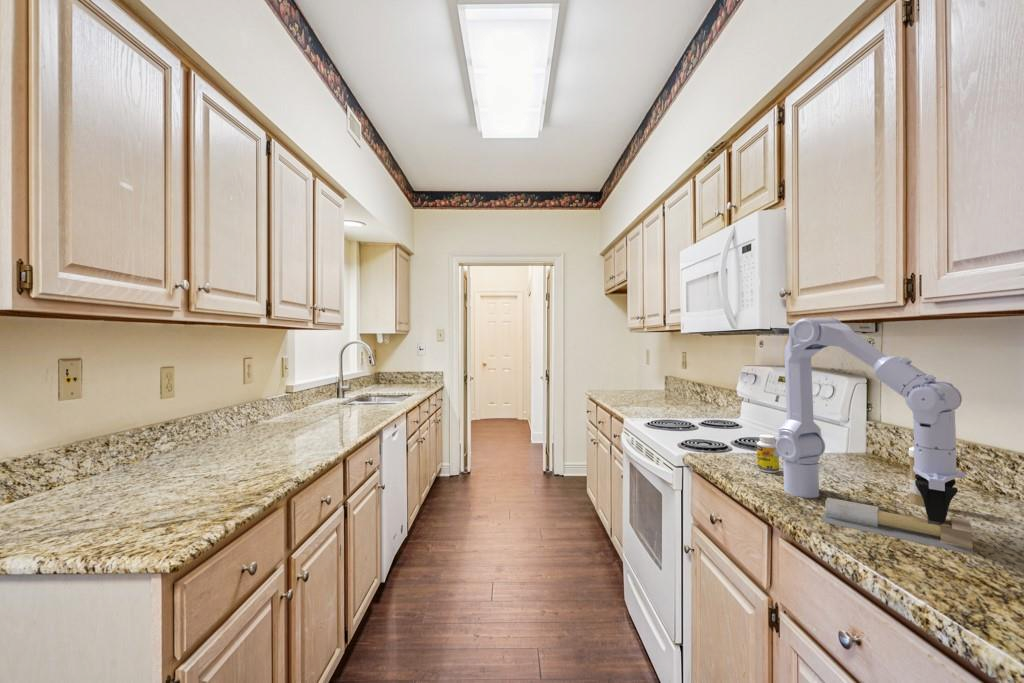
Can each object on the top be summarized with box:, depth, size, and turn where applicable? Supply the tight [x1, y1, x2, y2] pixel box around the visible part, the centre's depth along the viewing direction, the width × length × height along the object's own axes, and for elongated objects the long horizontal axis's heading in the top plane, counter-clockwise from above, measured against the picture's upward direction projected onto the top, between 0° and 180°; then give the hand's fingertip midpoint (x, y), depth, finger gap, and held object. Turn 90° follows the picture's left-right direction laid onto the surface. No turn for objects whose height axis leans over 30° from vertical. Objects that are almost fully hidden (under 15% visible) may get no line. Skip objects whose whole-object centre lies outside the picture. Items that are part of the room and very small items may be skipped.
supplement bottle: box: [756, 434, 780, 474], centre depth 128 cm, size 6×6×10 cm
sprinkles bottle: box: [908, 446, 925, 508], centre depth 98 cm, size 5×5×14 cm
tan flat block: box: [877, 510, 952, 536], centre depth 85 cm, size 2×12×7 cm, turn 47°
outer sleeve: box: [824, 497, 879, 528], centre depth 91 cm, size 3×8×3 cm, turn 48°
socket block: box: [940, 516, 974, 549], centre depth 81 cm, size 5×4×4 cm
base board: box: [820, 509, 975, 555], centre depth 87 cm, size 10×22×1 cm, turn 48°
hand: (935, 518), depth 82 cm, fingers open, 3 cm apart
